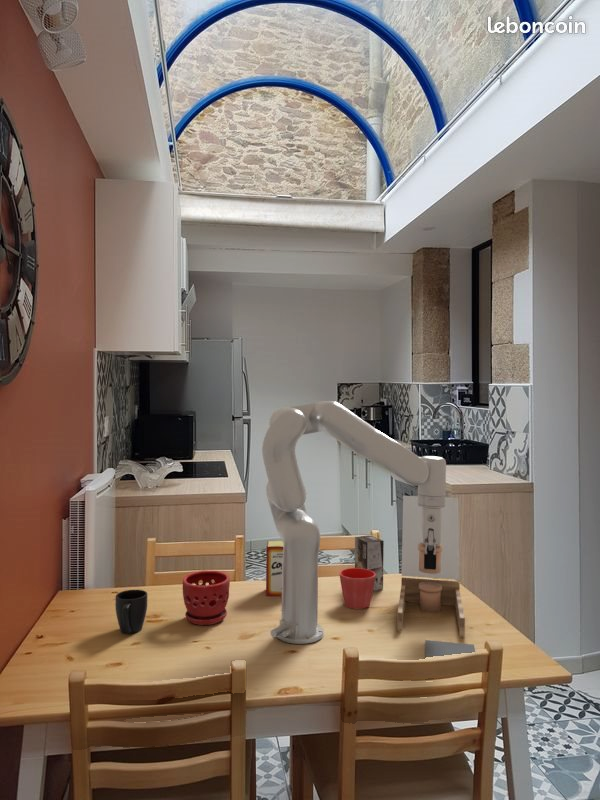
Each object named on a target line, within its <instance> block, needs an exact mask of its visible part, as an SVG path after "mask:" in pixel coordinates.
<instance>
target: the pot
mask: <svg viewBox="0 0 600 800" xmlns="http://www.w3.org/2000/svg"><path fill="white" fill-rule="evenodd" d="M419 590H420V603H419V609H420V610H421V611H422V612H425V613H438V612H441V604H440V597H441V591H442V585H440V584H438V583H435V582H421V583H419Z"/></svg>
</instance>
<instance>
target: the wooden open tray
mask: <svg viewBox="0 0 600 800" xmlns="http://www.w3.org/2000/svg"><path fill="white" fill-rule="evenodd" d="M400 579H401V585H400V586H401V587H400V591H399V592H400V593H399V601H398V608H397V632H401V631H402V632H403V627H404V618H405V617H404V615H405V608H406V607H405V606H406V601H407V603H419V604H420V590H419V583H421V582H435V583H438V584H440V585H442V591H441V597H440V605H441V606H442V605H444V606H455V613H456V620H457V626H458V634H459V638H465V637H466V636H465V635H466V633H465V632H466V631H465V630H466V629H465V628H466V627H465V626H466V625H465V624H466V623H465V622H466V621H465V620H466V619H465V618H466V617H465V613H464V607H463V602H462V601H463V600H462V595H461V590H460V588H461V587H460V584H461V582H460V581H458V580H445V579H444V580H443V579H431V578H428V579H427V578H426V579H425V578H417V577H416V578H415V577H404V576H402V577H401V578H400Z"/></svg>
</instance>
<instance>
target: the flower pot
mask: <svg viewBox="0 0 600 800" xmlns="http://www.w3.org/2000/svg"><path fill="white" fill-rule="evenodd" d="M375 577H376V574H375V573H374V572H373V571H371V570H368V569H362V568H355V567H349V568H345V569H342V570H340V571H339V581H340V585H341V586H340V588H341V592H342V598H343V603H344V605H345V606H346V607H347V608H350V609H353V608H354V610H362V609H363V608H364V609H366V607H367V608H369V607H370V605H371V601H372V597H373V592H374V591H373V588H374V582H375Z"/></svg>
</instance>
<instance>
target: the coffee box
mask: <svg viewBox="0 0 600 800" xmlns="http://www.w3.org/2000/svg"><path fill="white" fill-rule="evenodd" d="M384 542H385V541H384V540H383V539H380V538H377V537H375V536H373V535H370V534H369V535H362V536H354V568H362V569H368V570H371V571H373V572H374V573H375V574H376V577H375V582H374V588H373V590H376V591H379V590H378V589H383V590H384V544H385V543H384Z"/></svg>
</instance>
